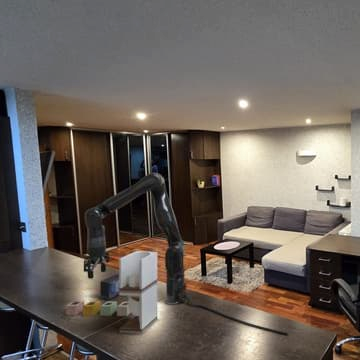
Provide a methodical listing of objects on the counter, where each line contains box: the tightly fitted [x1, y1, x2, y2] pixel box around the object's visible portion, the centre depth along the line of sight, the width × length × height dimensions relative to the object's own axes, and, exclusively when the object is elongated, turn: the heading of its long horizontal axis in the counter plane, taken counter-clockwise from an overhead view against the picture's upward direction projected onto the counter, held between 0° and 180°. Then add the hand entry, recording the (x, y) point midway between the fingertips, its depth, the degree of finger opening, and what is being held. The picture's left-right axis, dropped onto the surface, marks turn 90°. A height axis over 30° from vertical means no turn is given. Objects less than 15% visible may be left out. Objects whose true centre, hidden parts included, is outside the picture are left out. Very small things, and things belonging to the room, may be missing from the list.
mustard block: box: [82, 300, 101, 317], centre depth 141 cm, size 5×5×5 cm
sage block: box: [99, 300, 118, 317], centre depth 142 cm, size 5×5×5 cm
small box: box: [99, 274, 120, 301], centre depth 160 cm, size 11×6×10 cm, turn 168°
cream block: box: [116, 301, 132, 317], centre depth 142 cm, size 5×5×5 cm
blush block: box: [65, 300, 85, 316], centre depth 141 cm, size 5×5×5 cm
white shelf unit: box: [118, 250, 158, 335], centre depth 131 cm, size 11×11×35 cm
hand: (97, 274), depth 143 cm, fingers open, 8 cm apart
